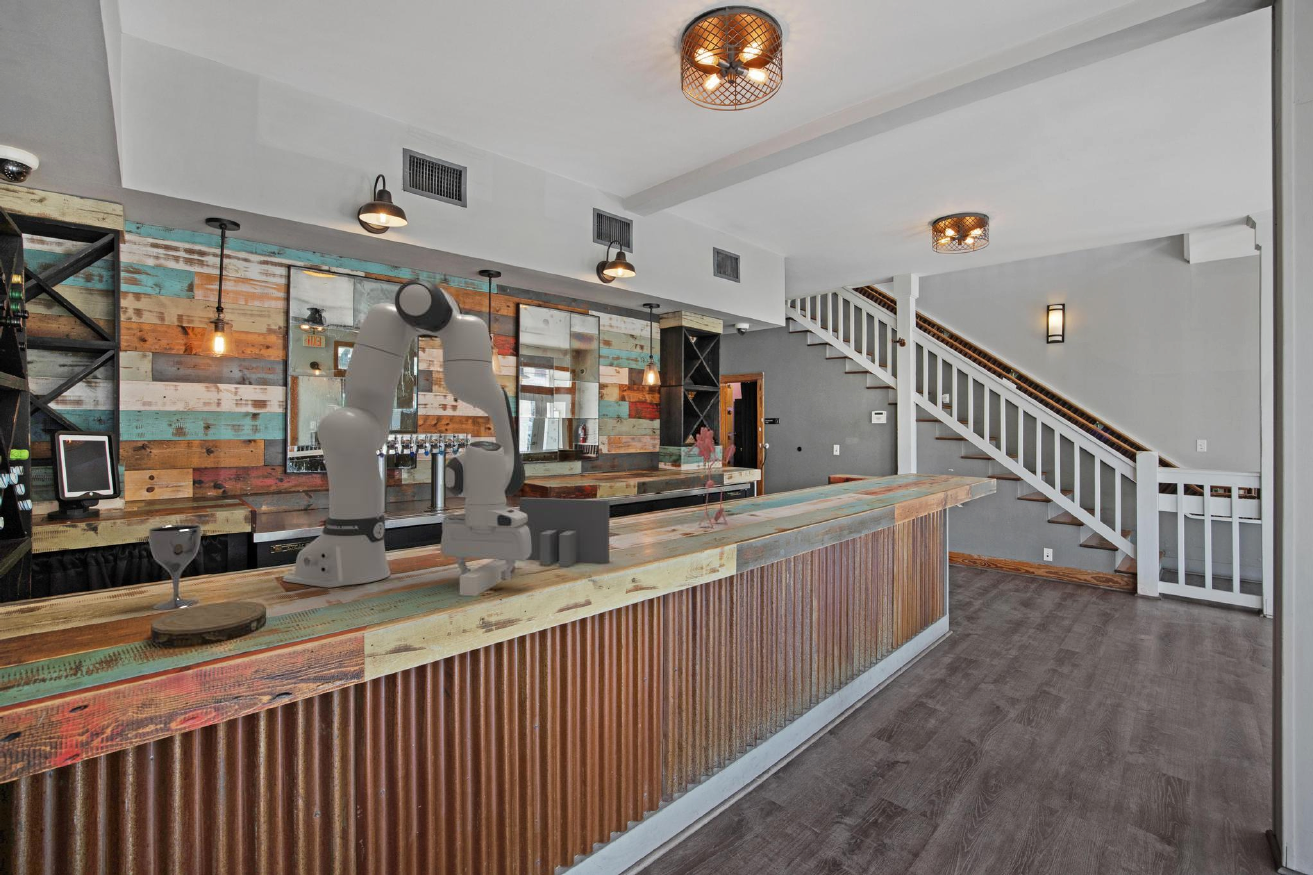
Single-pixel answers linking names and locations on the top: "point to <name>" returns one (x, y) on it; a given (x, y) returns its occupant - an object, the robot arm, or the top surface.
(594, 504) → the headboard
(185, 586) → the top surface
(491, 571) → the rail
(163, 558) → the wine glass
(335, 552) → the robot arm
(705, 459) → the pink spindly flower stalk
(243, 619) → the wood slice coaster
